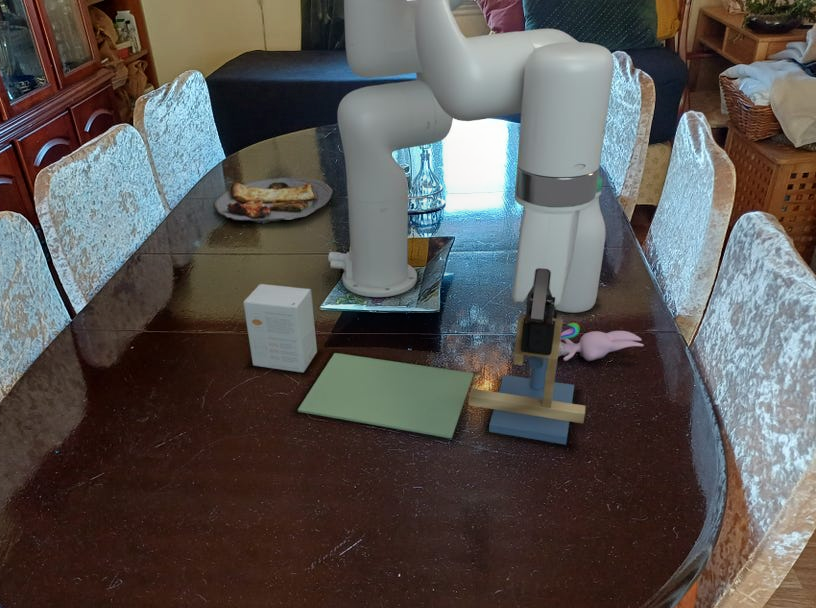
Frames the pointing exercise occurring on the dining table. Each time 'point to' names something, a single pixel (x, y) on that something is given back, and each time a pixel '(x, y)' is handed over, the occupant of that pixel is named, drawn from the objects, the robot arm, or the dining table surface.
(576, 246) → the milk bottle
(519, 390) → the rail stand
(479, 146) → the dining table surface
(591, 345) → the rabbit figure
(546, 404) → the hanger
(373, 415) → the mat
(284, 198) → the food plate
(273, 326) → the small box
